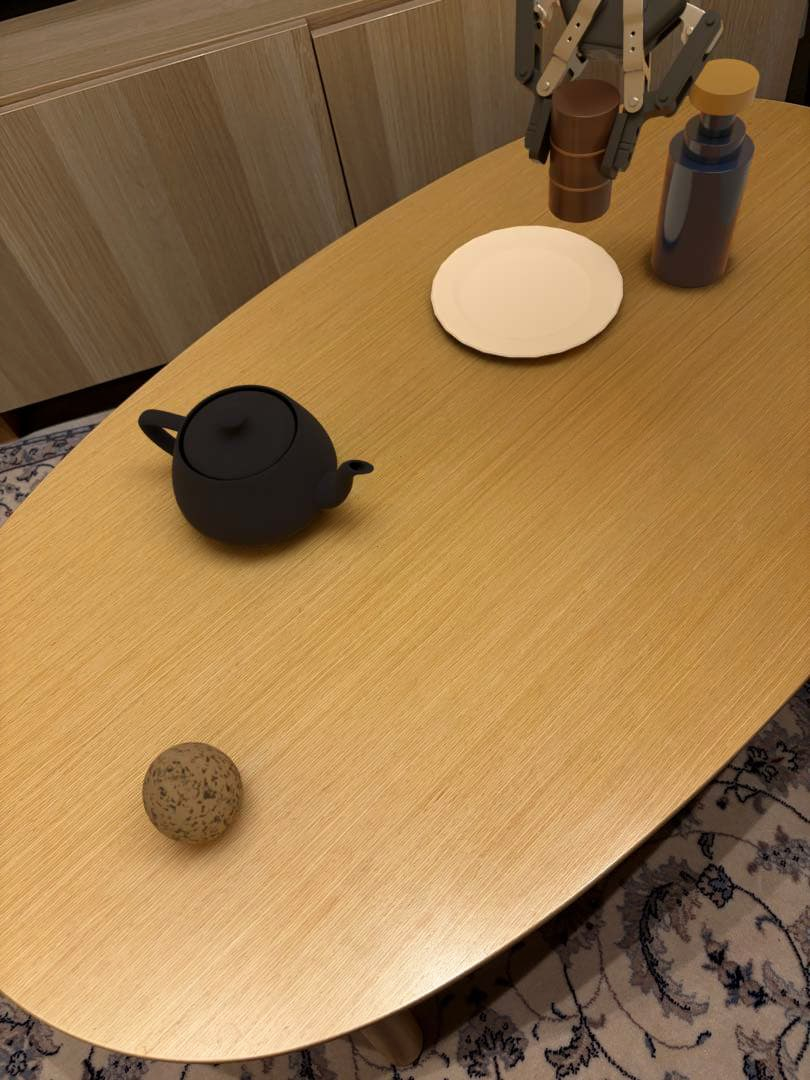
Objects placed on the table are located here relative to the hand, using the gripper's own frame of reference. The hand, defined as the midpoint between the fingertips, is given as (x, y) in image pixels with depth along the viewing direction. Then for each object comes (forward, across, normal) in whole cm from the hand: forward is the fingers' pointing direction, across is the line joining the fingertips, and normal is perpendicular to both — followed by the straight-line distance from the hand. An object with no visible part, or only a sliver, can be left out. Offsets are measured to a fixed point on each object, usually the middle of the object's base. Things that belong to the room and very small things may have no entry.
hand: (572, 167), depth 58 cm
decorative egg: (+53, -11, -9) cm, 55 cm away
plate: (+9, -11, +35) cm, 37 cm away
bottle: (0, +3, +42) cm, 43 cm away
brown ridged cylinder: (+2, 0, +4) cm, 4 cm away
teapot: (+33, -23, +11) cm, 42 cm away
